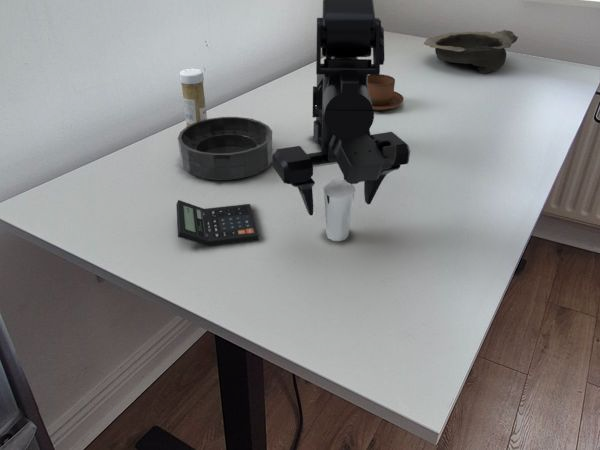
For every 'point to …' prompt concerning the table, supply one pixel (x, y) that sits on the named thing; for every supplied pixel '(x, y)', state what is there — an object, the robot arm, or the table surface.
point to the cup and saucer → (383, 92)
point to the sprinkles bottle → (193, 95)
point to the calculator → (216, 224)
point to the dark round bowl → (226, 148)
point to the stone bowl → (473, 48)
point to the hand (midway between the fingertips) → (339, 208)
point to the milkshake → (338, 208)
